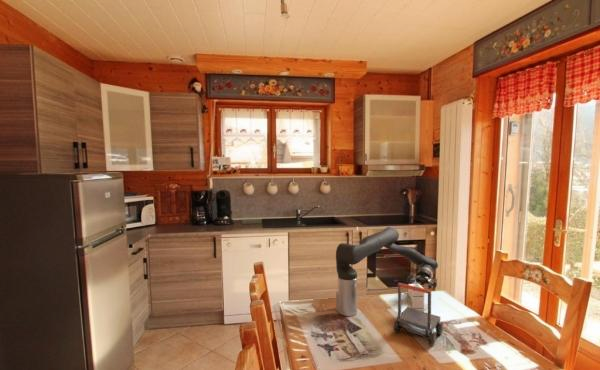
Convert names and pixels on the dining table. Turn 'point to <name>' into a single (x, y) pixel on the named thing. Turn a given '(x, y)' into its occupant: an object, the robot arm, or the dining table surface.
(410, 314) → the trolley
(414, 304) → the syrup box
